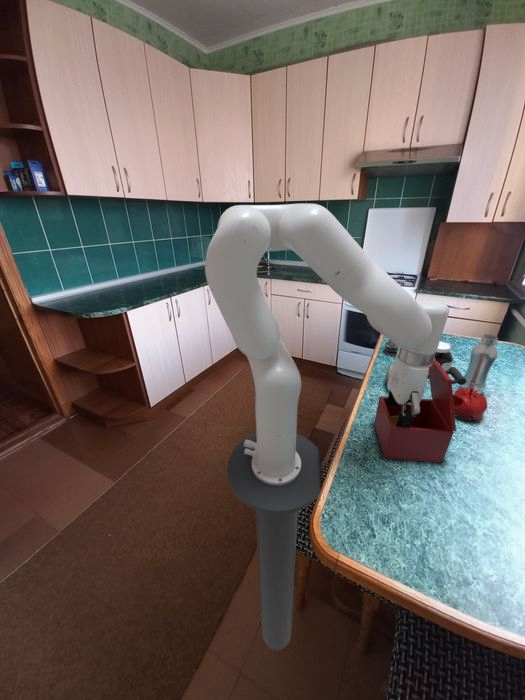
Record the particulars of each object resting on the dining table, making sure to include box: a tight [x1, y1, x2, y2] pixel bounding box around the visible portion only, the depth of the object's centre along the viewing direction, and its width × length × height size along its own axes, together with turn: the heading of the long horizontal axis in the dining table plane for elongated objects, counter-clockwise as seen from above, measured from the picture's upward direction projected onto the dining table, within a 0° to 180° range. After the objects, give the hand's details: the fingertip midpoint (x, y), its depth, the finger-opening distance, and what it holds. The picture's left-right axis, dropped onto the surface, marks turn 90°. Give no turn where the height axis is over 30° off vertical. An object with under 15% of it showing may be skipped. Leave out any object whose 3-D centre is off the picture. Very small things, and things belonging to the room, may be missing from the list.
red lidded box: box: [373, 395, 454, 464], centre depth 75 cm, size 14×13×10 cm
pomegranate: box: [453, 385, 488, 421], centre depth 85 cm, size 10×10×9 cm
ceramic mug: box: [384, 363, 394, 393], centre depth 97 cm, size 11×8×8 cm
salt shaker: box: [383, 339, 398, 357], centre depth 118 cm, size 6×6×12 cm
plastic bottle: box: [459, 334, 499, 395], centre depth 91 cm, size 6×7×20 cm
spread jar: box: [427, 340, 454, 378], centre depth 105 cm, size 12×11×12 cm
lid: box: [428, 358, 466, 432], centre depth 68 cm, size 14×13×5 cm
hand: (397, 414), depth 73 cm, fingers open, 8 cm apart
